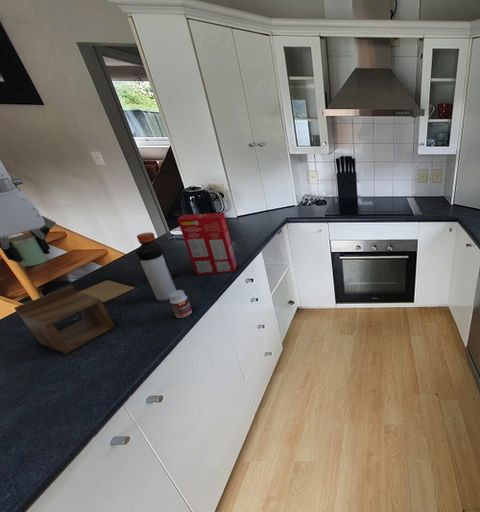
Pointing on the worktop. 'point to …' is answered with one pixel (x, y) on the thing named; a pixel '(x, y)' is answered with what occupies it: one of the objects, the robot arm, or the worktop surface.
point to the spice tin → (28, 250)
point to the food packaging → (208, 243)
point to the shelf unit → (59, 307)
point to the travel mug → (156, 272)
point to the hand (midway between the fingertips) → (31, 256)
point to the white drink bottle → (151, 245)
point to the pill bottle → (180, 304)
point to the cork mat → (107, 290)
